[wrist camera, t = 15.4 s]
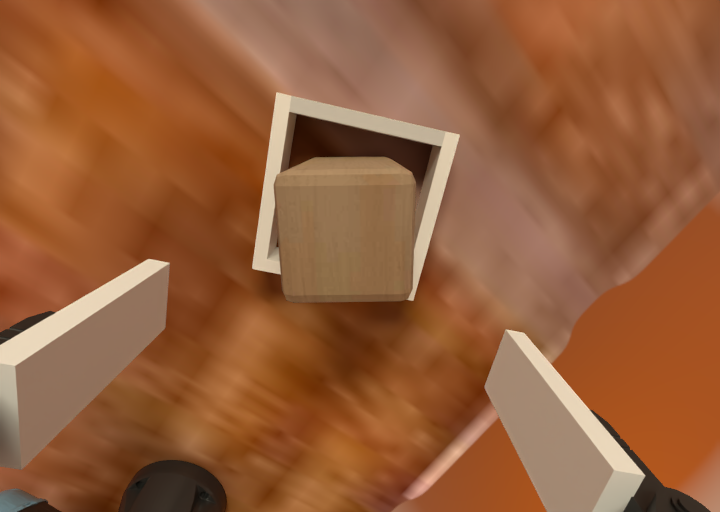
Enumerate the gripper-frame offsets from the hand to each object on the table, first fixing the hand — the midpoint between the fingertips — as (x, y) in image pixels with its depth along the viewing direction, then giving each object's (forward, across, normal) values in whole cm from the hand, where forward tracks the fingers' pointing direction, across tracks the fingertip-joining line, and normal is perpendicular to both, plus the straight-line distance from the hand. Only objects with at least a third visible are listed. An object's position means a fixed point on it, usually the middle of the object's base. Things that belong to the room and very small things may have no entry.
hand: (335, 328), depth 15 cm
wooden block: (+33, 0, 0) cm, 33 cm away
